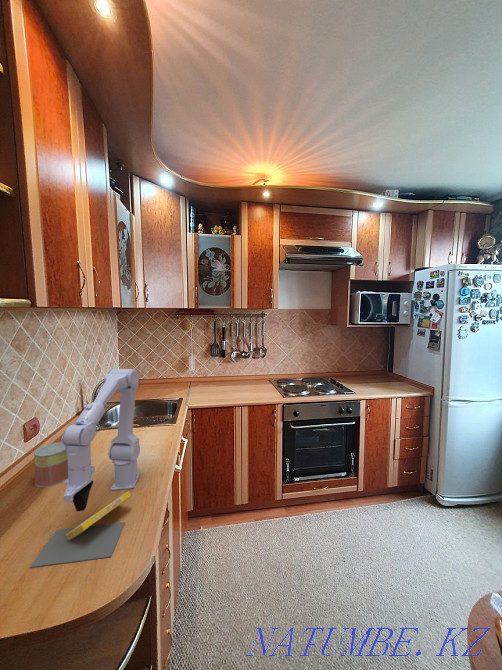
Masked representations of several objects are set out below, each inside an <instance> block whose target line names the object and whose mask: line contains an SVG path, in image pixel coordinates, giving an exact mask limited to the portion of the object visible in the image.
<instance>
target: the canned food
mask: <svg viewBox="0 0 502 670" xmlns="http://www.w3.org/2000/svg"><path fill="white" fill-rule="evenodd" d="M33 461H34V463H33V464H34V478H35V479H34V482H35V483H34V485H35V486H36V487H38V488H47V487H53V486H56V485H59V484H61V483H63V482H65V481H66V480H67V478H68V457H67V451H66V450H65V446H64V445H63V444H62V442H61V441H59V442H53V443H52V442H51V443H48V444H46V445H42V446H40V447H39V448H37V449H35V451H33Z"/></svg>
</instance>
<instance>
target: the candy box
mask: <svg viewBox="0 0 502 670" xmlns="http://www.w3.org/2000/svg"><path fill="white" fill-rule="evenodd" d="M131 497H132V496H131V493H130V491H126V492H125V493H124V494H122V495H120V496H119V497H118V498H116V499H114V500H113V501H111V502H110V503H109V504H106V506H104V507H103V508H101V509H100V510H98V511H97V512H95V513H94V514H93V515H91V516H89V518H86V519H85V520H84V521H83V522H81V523H80V524H78V525H77V526H76V527H73V528H74V529H73V530H72V531H70V532H69V533H67V534H66V537H67V539H68V540H70V539H72V538H74V537H75V536H77V535H79V534H80V533H82V532H83V531H84V530H86V529H87V528H89V527H90V526H94V524H95V523H97V522H98V521H99V520H101V519H102V518H103V517H104V516H106V515H107V514H109V513H110V512H112V511H113V510H114V509H116V508H117V507H118V506H120V505H121V504H122V503H124V502H125V501H126V500H128V499H129V498H131Z"/></svg>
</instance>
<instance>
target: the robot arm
mask: <svg viewBox="0 0 502 670" xmlns="http://www.w3.org/2000/svg"><path fill="white" fill-rule="evenodd" d="M139 374H140V373H138V371H137V369H136V368H114V367H111V368H109V369H108V370H107V371H106V374H105V375H104V376H103V377H104V383H103V385H102V386H101V388H100V391H99V392H98V393H97V396H96V397H95V399H94V401H93V402H89V403H87V405H86V406H85V407H84V409H83V410H82V412H80V414H79V416H78V417H77V419H76V420H75V421H74V423H73V424H70V425H69V426H67V427H66V428H65V429H64V431H63V433H62V437H61V439H60V442H62V444H63V445H64V446H65V450H66V451H67V457H68V479H66V480H65V481H63V482H64V483H63V485H65V486H66V489H65V493H64V495H63V497H62V498H63V503H73V505H74V508H75V511H76V512H83V511H85V510H86V508H87V506H88V501H89V495H90V492H91V489H92V487H93V485H94V480H93V476H94V475H93V474H94V473H95V465H92V459H91V458H92V455H91V453H92V452H91V443H92V441H94V438H95V435H96V431H97V425H98V424H99V422H100V421H101V419H102V417H103V416H104V415H105V412H106V409H105V406H106V405H107V403H108V402H109V401H110V399H111V398H112V397H113V396H114V395H115V393H116V392H117V391H118V392H119V393H120V400H119V412H118V413H119V414H118V427H117V435H116V436H115V437H113V438H112V439H111V441H110V446H109V448H108V453H107V455H108V458H109V460H111V462H112V464H113V466H114V467H113V468H114V469H113V470H114V483H112V484H113V485H112V486H111V487H110V491H117V490H126V489H127V490H128V489H129V490H130V489H134V488H135V486H136V484H137V482H138V479H139V477H140V475H141V473H140V472H138V458H139V456H140V452H141V447H140V438H139V437H137V436H136V435H135V434H134V433H133V432H134V418H135V417H134V416H135V407H136V406H135V405H136V404H135V403H136V394H137V393H136V391H137V390H138V389H139V378H140V375H139Z"/></svg>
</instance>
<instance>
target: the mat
mask: <svg viewBox="0 0 502 670" xmlns="http://www.w3.org/2000/svg"><path fill="white" fill-rule="evenodd" d="M125 523H126V521H120V522H113V523H104V524H95V525H94V524H93V525H91V526H90V527H89V528H87V529H86V530H84V531H83V532H82V533H80V534H79V535H77V536H75V537H74V538H72V539H70V540H68V539H67V537H66V534H67V533H69V532H70V531H72V530H73V529H74V528H75V527H70V528H61V529H56V530H55V531H54V533H53V534H52V536H51V537H50V539H49V540H48V541H47V543H46V544H45V545H44V547H43V548H42V550H41V551H40V552H39V554H37V556H36V558H35V560H33V562H32V564H31V565H29V569H34V568H40V567H41V568H42V567H49V566H50V567H51V566H55V565H63V564H71V563H79V562H87V561H95V560H100V559H108V558H112V556H113V553H114V551H115V548H116V546H117V544H118V543H119V539H120V536H121V534H122V531H123V529H124V526H125Z"/></svg>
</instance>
